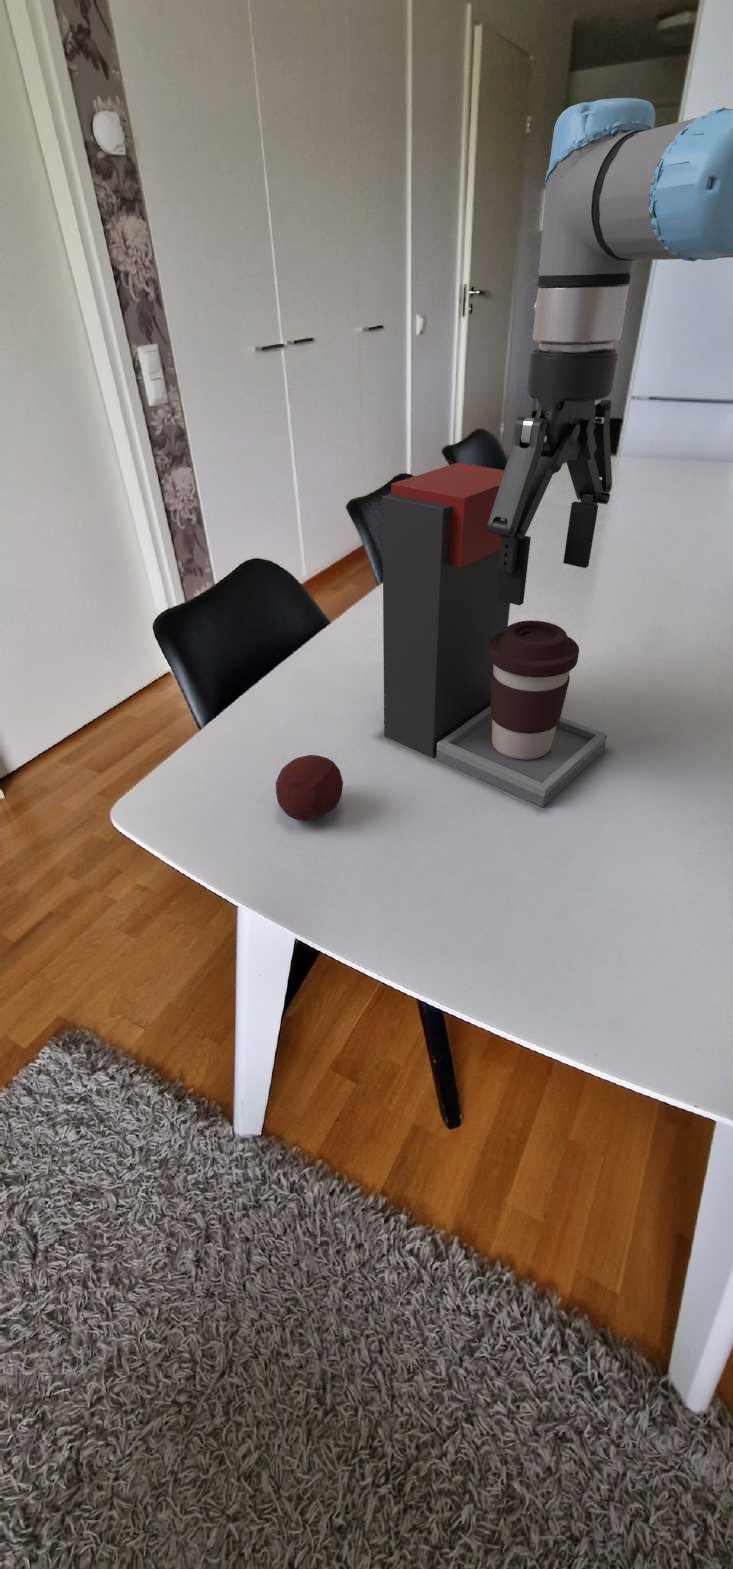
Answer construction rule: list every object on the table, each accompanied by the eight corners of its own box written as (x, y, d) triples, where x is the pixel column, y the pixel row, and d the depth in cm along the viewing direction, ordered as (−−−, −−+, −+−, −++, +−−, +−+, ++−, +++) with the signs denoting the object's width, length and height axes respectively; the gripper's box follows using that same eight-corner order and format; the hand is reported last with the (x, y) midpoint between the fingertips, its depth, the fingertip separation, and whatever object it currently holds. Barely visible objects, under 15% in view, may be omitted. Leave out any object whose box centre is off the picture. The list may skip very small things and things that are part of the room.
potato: (354, 801, 81) (352, 750, 77) (323, 842, 75) (319, 789, 71) (299, 786, 83) (294, 736, 79) (264, 824, 78) (257, 772, 74)
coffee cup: (570, 767, 83) (591, 651, 74) (485, 768, 83) (496, 652, 74) (553, 723, 91) (570, 613, 82) (476, 724, 91) (485, 614, 82)
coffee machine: (604, 750, 88) (660, 491, 70) (542, 807, 79) (588, 527, 61) (451, 692, 101) (465, 460, 82) (384, 736, 92) (381, 486, 73)
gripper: (600, 335, 71) (570, 545, 84) (456, 357, 56) (445, 609, 69) (673, 337, 67) (630, 558, 80) (538, 362, 52) (511, 629, 65)
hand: (544, 582), depth 74 cm, fingers open, 13 cm apart
